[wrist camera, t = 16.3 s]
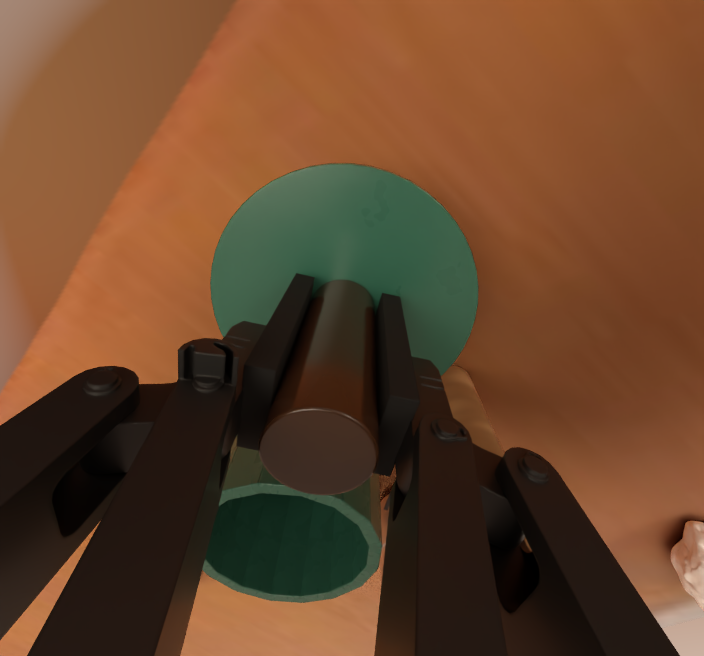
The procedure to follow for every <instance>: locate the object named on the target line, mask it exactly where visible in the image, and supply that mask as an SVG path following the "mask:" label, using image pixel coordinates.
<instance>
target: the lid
mask: <svg viewBox="0 0 704 656" xmlns="http://www.w3.org/2000/svg"><path fill="white" fill-rule="evenodd" d="M296 273H298V274H302V275H307V276H311V277H315V279H314V285H313V290H312V296H311V301H310V304H309V307H308V310H307V312H306V315H305V318H304V320H303V323H302V326H301V328H300V331H299V334H298V336H297V339H296V342H295V344H294V347H293V350H292V352H291V355H290V357H289V360H288V363H287V365H286V368H285V371H284V373H283V376H282V379H281V381H280V384H279V387H278V389H277V392H276V395H275V397H274V400H273V403H272V405H271V408H270V410H269V413H268V416H267V418H266V421H265V424H264V426H263V429H262V432H261V434H260V437H259V442H258V449H259V455H260V458H261V461H262V463H263V465H264V467H265V468H266V470H267V471H268V472H269V473H270V474H271V475H272V476H273V477H274V478H275V479H276V480H277V481H279V482H280V483H282V484H284V485H285V486H287V487H289V488H292V489H294V490H297V491H300V492H303V493H308V494H314V495H334V494H340V493H345V492H348V491H351V490H353V489H355V488H357V487H359V486H360V485H362V484H363V483H365V482H366V481H367V480H368V479H369V478H370V477H371V476H372V474H373V473H374V471H375V469H376V467H377V465H378V461H379V419H378V385H377V352H376V318H375V316H376V312H377V309H378V305H379V302H380V298H381V295H382V293H386V294H390V295H394V296H399V297H400V299H401V304H402V309H403V314H404V319H405V325H406V330H407V335H408V340H409V345H410V351H411V356H413V357H418V358H422V359H427V360H431V361H432V363H433V364H434V365H435V366H436V367H437V369H438V370H439V372H440V375H441V376H442V375H443V374H444V373H445V372H446V371H447V370H448V369H449V367H450V366H451V365H452V364H453V363H454V362H455V360H456V359H457V357H458V356H459V354H460V353H461V351H462V350H463V348H464V346H465V344H466V342H467V340H468V338H469V336H470V333H471V330H472V327H473V324H474V321H475V316H476V311H477V305H478V279H477V270H476V266H475V262H474V259H473V255H472V252H471V249H470V247H469V245H468V243H467V240H466V238H465V236H464V234H463V233H462V231H461V229H460V228H459V226H458V225H457V223H456V221H455V220H454V219H453V217H452V216H451V215H450V214H449V213H448V212H447V210H446V209H445V208H444V207H443V206H442V205H441V204H440V203H439V202H438V201H437V200H436V199H434V198H433V197H432V196H431V195H430V194H429V193H428V192H426V191H425V190H424V189H422V188H420V187H419V186H417V185H416V184H414V183H413V182H411V181H410V180H408V179H406V178H403V177H401V176H399V175H397V174H395V173H393V172H390V171H387V170H383V169H380V168H377V167H373V166H368V165H362V164H355V163H328V164H321V165H314V166H310V167H306V168H303V169H300V170H296V171H293V172H290V173H288V174H286V175H284V176H282V177H280V178H277V179H275V180H273V181H271V182H270V183H268V184H267V185H265V186H264V187H262V188H261V189H259V190H258V191H256V192H255V193H254V194H253V195H252V196H251V197H250V198H249V199H248V200H246V201H245V202H244V203H243V204H242V205H241V207H240V208H239V209H238V210H237V211H236V213H235V214H234V215H233V216H232V218H231V219H230V221H229V223H228V224H227V226H226V228H225V229H224V231H223V233H222V235H221V237H220V240H219V242H218V245H217V248H216V250H215V255H214V259H213V263H212V270H211V282H210V284H211V299H212V304H213V309H214V314H215V317H216V320H217V323H218V326H219V329H220V331H221V333H222V335H223V337H225V336H226V334H227V332H228V331H229V330H230V328H231V327H232V326H234V325H236V324H238V323H240V322H242V321H248V322H252V323H257V324H262V325H267V323H268V322H269V320H270V318H271V316H272V315H273V313H274V311H275V309H276V308H277V306H278V304H279V302H280V301H281V299H282V297H283V295H284V294H285V292H286V290H287V288H288V287H289V285H290V283H291V281H292V280H293V278H294V276H295V274H296Z"/></svg>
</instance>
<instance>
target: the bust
mask: <svg viewBox="0 0 704 656" xmlns="http://www.w3.org/2000/svg"><path fill="white" fill-rule="evenodd" d="M671 562H672V564H673V566H674V568H675V570H676V572H677V573H678V575H679V579H680V581H681V583H682V585H683V587H684V589H685V590H686V591H687V592H688V593H689V594H690V595H691V596H693V597H694V599H695V600H696V602H697V604H698V605H699V606H700V607H701V608H702V609H703V611H704V523H703V522H698V521H688V522H686V523H685V528H684V531H683V538H682V539H681V540H680V541H679V542H678V543H677V544H675V545H674V547H673V548H672V550H671Z"/></svg>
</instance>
